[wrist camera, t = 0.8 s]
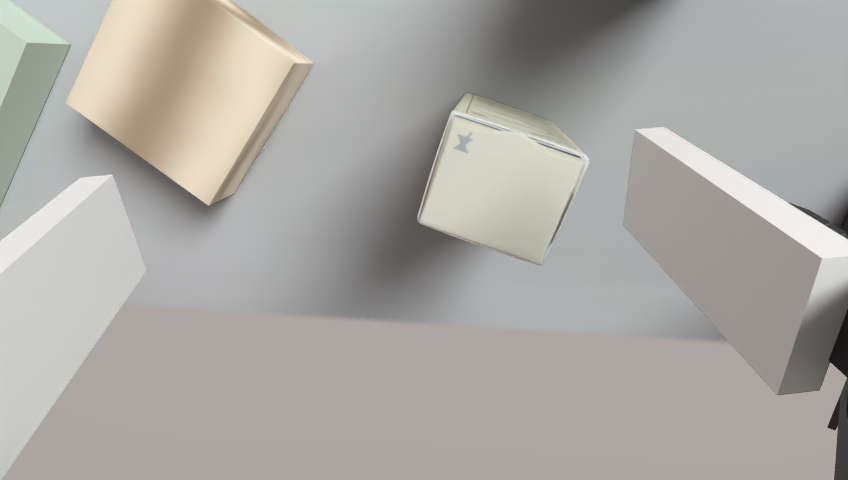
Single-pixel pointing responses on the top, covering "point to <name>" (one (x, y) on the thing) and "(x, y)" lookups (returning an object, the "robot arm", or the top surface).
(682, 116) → the top surface
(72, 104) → the stand
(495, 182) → the box
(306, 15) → the top surface
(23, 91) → the socket
